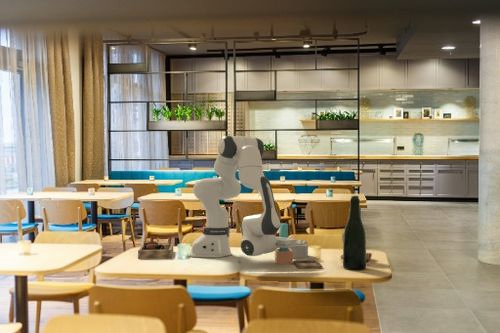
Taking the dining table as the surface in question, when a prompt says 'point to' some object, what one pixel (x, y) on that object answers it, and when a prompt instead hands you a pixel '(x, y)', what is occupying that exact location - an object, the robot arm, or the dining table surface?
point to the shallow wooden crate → (156, 252)
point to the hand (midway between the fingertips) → (284, 239)
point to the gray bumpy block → (300, 250)
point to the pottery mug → (152, 246)
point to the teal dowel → (283, 234)
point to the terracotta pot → (284, 257)
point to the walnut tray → (307, 264)
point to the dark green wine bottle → (354, 239)
